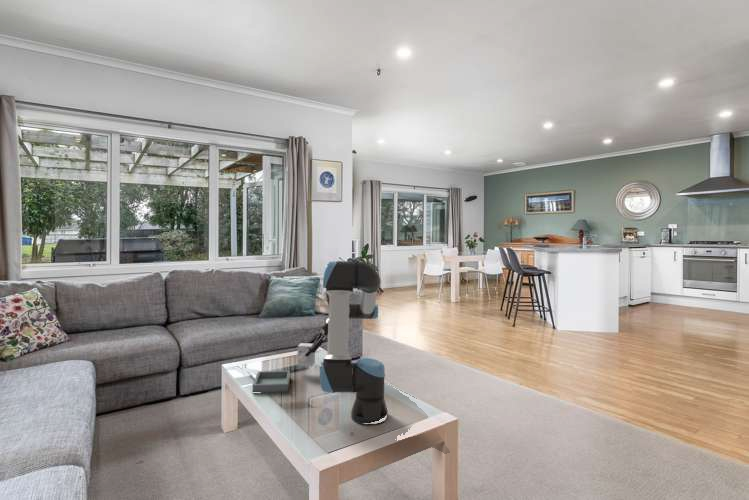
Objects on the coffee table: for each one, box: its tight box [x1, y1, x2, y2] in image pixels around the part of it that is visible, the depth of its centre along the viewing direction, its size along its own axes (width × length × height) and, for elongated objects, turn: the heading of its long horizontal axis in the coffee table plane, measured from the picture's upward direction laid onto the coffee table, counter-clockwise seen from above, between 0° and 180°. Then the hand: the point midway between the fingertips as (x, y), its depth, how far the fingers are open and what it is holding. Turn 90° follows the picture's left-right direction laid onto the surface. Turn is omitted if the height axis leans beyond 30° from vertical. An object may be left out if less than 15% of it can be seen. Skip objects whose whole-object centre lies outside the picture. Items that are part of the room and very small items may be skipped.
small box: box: [297, 342, 316, 367], centre depth 208 cm, size 8×6×10 cm
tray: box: [252, 370, 291, 394], centre depth 193 cm, size 18×16×4 cm
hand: (299, 357), depth 207 cm, fingers closed on small box, 8 cm apart
